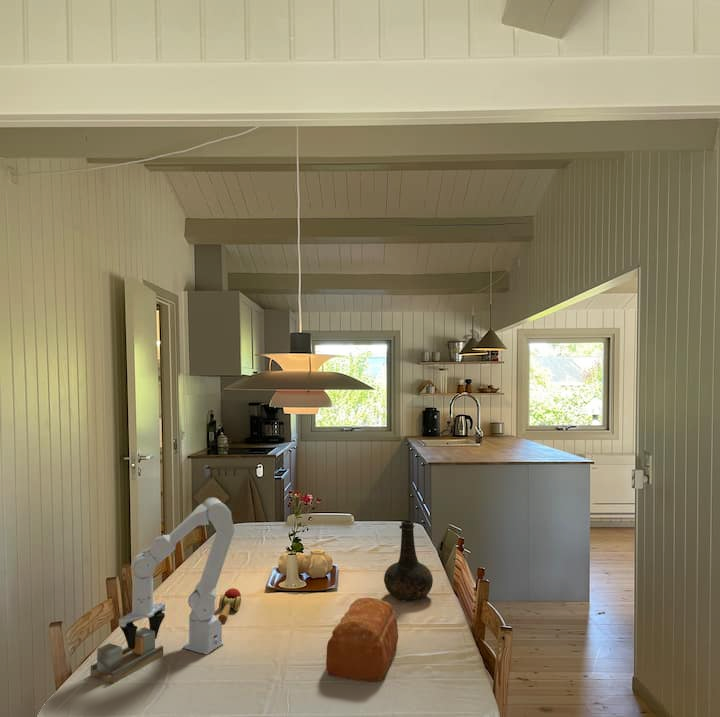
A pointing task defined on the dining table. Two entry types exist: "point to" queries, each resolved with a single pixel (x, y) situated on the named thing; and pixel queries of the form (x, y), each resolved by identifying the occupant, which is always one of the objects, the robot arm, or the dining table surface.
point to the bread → (363, 641)
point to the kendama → (229, 603)
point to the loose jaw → (144, 641)
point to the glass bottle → (408, 570)
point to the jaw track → (125, 661)
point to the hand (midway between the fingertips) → (142, 643)
